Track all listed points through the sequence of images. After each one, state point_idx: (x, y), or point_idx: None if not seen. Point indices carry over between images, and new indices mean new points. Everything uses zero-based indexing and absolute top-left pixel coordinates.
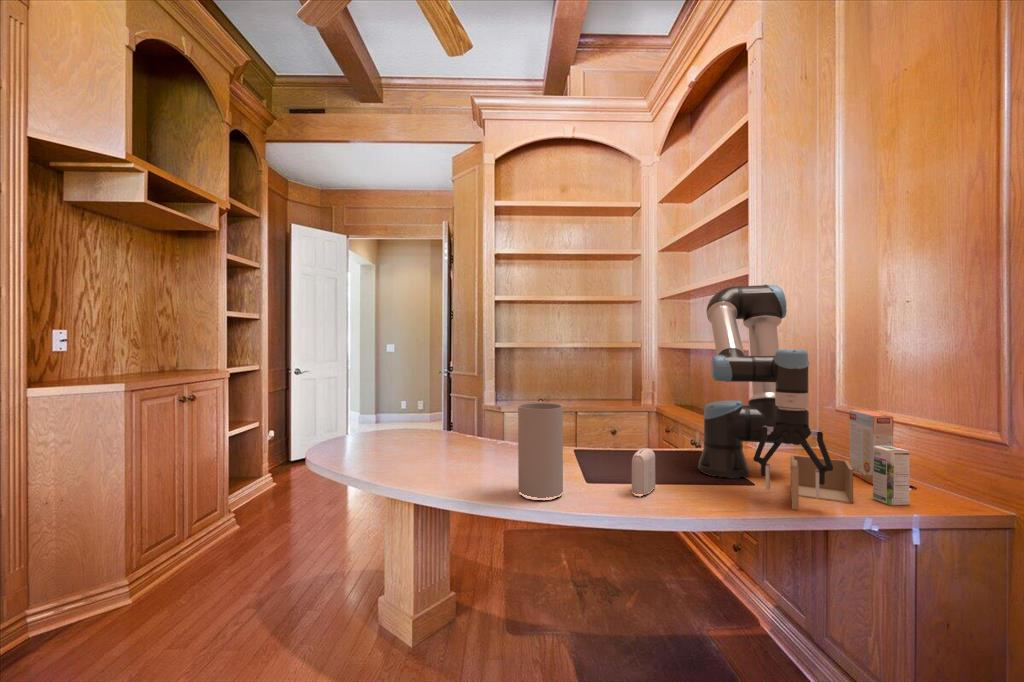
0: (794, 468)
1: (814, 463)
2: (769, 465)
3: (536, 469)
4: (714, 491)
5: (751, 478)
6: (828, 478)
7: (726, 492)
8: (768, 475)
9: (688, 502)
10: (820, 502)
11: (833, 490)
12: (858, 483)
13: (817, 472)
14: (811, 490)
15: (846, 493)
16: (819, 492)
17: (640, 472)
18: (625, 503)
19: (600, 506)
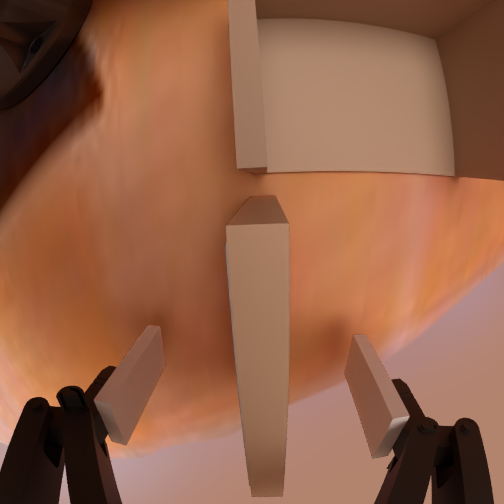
0: (263, 481)
1: (379, 494)
2: (117, 414)
3: None
4: (28, 281)
5: (98, 23)
6: (406, 8)
7: (49, 273)
8: (142, 409)
9: (42, 393)
10: (363, 219)
11: (405, 40)
12: None
13: (380, 456)
14: (332, 68)
15: (449, 87)
16: (363, 85)
17: None
18: (7, 414)
19: (6, 428)
